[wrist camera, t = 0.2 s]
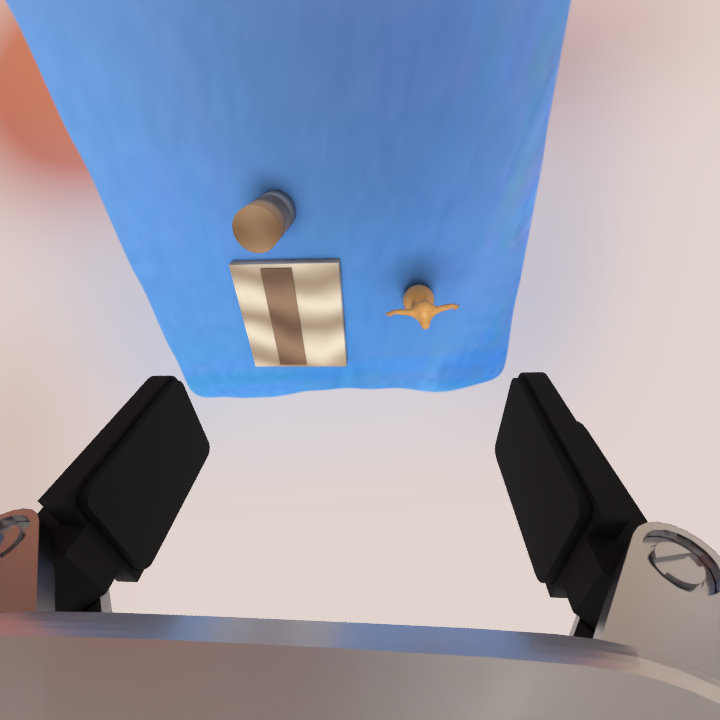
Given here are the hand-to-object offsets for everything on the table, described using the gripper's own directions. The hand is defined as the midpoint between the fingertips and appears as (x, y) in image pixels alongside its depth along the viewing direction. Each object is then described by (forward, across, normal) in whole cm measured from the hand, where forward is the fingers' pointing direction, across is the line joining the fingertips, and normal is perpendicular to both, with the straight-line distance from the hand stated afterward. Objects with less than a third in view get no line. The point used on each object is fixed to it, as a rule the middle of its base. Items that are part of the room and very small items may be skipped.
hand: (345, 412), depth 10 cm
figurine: (+36, -6, +12) cm, 38 cm away
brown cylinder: (+36, +11, +1) cm, 38 cm away
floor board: (+36, +12, +15) cm, 41 cm away
